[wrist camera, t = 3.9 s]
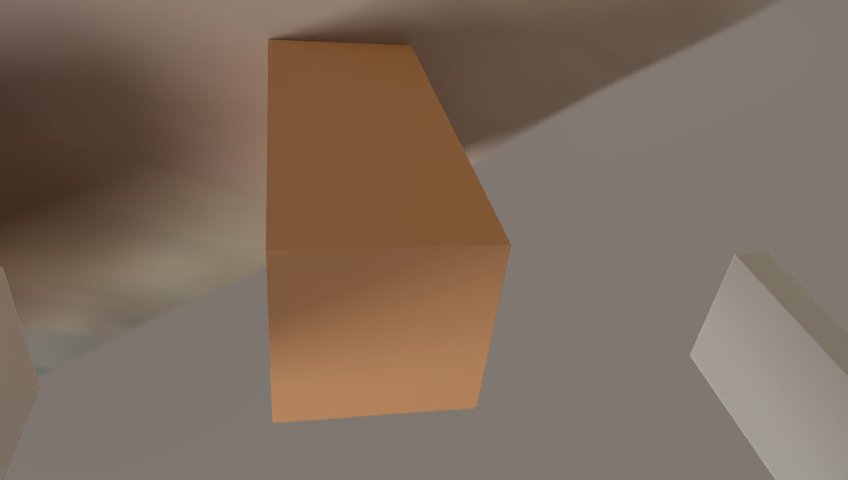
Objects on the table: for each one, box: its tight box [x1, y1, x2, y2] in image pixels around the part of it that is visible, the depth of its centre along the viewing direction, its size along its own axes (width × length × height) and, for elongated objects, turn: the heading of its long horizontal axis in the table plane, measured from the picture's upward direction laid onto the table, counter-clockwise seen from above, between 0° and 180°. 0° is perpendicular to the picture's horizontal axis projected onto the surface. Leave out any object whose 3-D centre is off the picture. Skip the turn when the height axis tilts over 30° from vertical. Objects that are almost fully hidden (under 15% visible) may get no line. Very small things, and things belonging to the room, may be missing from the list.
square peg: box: [266, 39, 511, 423], centre depth 16 cm, size 4×4×10 cm
